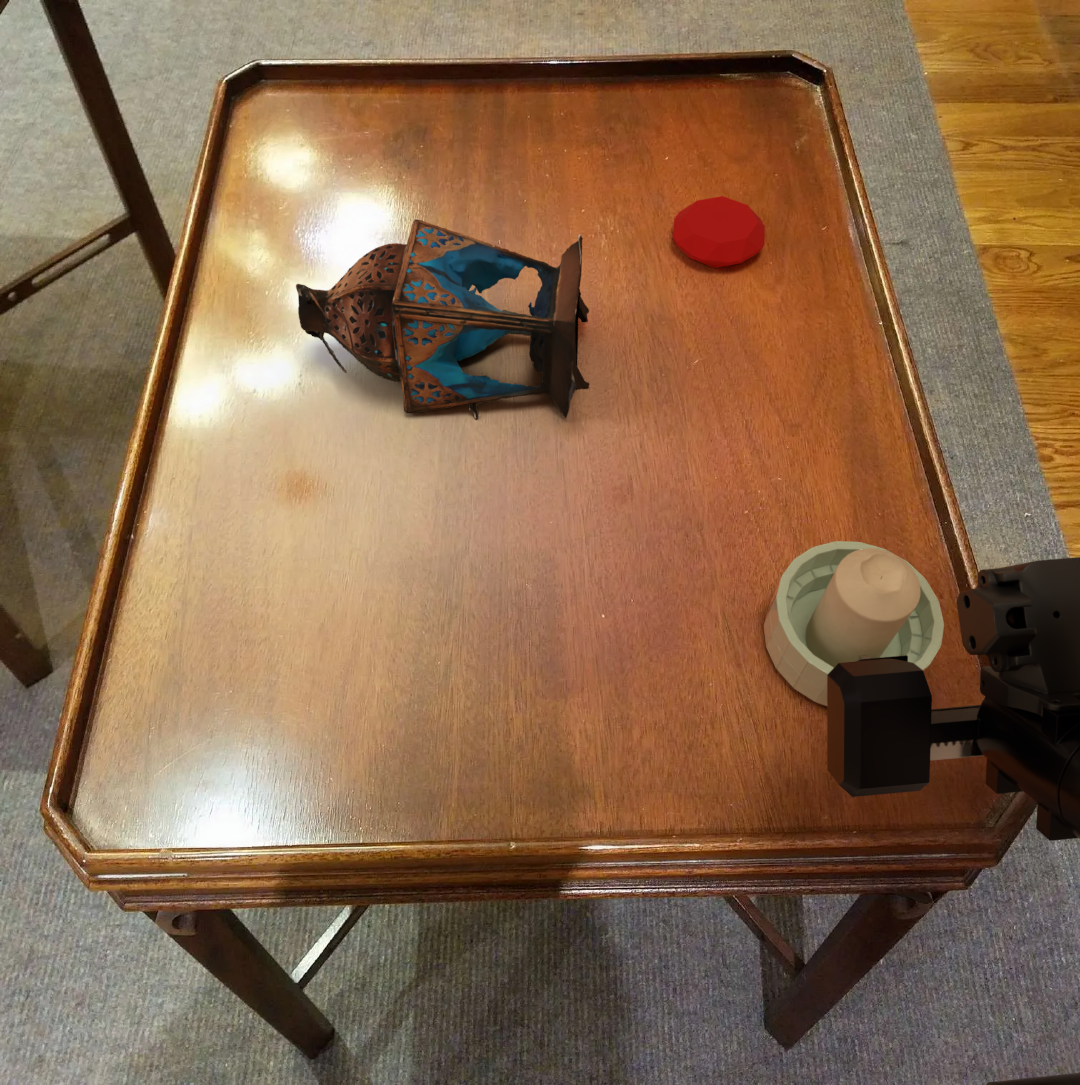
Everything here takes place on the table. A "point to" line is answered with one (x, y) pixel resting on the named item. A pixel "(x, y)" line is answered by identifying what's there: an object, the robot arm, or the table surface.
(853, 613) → the candle
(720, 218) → the gemstone
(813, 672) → the bowl
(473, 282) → the lantern
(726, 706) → the table surface
